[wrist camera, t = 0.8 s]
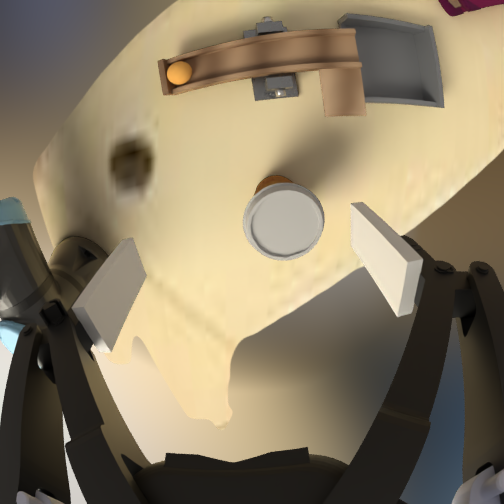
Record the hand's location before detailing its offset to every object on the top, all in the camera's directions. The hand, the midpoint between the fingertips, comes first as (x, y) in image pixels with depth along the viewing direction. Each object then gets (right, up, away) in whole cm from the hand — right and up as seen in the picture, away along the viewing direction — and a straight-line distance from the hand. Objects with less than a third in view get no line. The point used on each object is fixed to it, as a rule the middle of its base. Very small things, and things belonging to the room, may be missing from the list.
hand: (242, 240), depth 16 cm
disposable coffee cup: (+4, +8, +26) cm, 27 cm away
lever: (+2, +20, +14) cm, 25 cm away
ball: (-8, +22, +13) cm, 26 cm away
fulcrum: (+3, +25, +16) cm, 30 cm away
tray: (+21, +28, +15) cm, 38 cm away
